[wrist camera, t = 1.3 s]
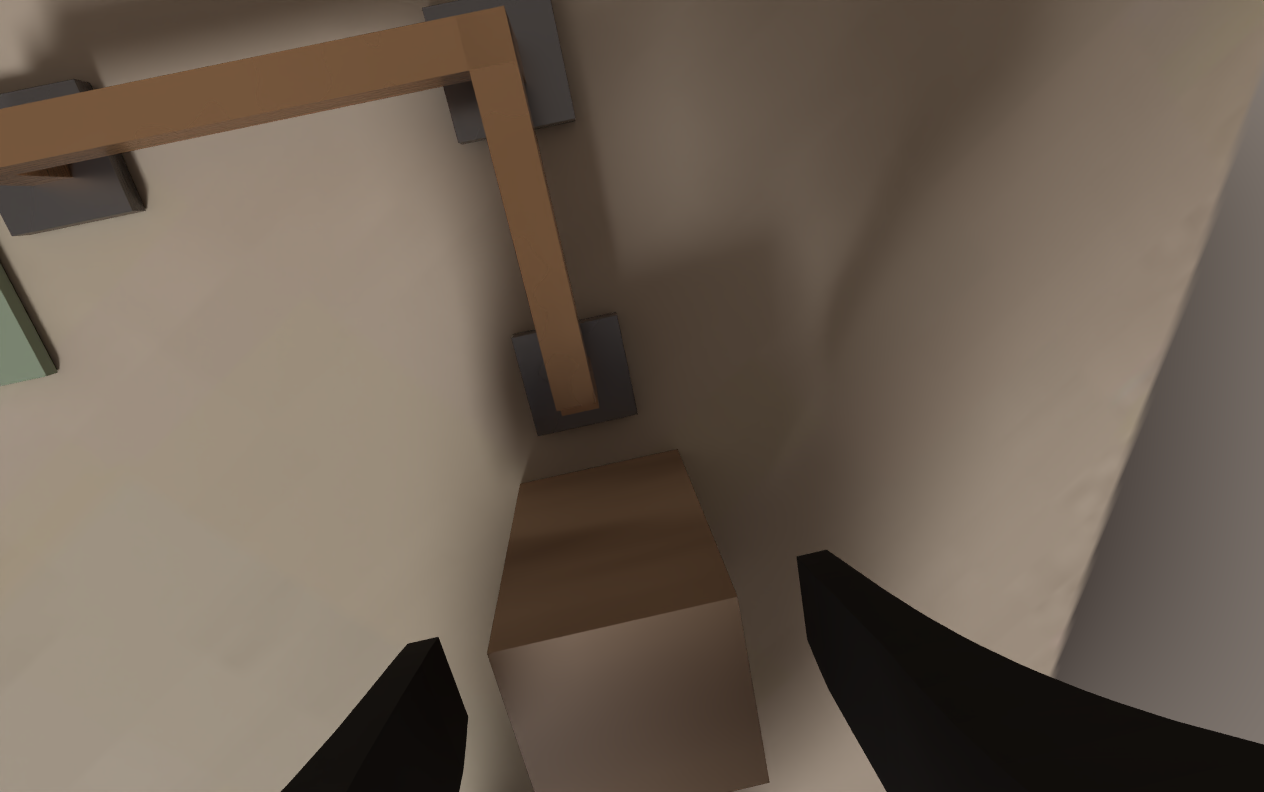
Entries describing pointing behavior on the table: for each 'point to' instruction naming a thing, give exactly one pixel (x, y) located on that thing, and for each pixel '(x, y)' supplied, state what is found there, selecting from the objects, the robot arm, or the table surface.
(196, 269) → the table surface
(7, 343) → the mat
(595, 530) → the block
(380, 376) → the table surface
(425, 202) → the table surface
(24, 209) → the brown angled rail
